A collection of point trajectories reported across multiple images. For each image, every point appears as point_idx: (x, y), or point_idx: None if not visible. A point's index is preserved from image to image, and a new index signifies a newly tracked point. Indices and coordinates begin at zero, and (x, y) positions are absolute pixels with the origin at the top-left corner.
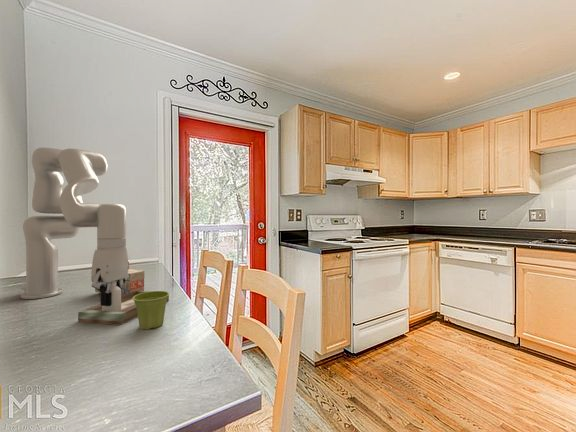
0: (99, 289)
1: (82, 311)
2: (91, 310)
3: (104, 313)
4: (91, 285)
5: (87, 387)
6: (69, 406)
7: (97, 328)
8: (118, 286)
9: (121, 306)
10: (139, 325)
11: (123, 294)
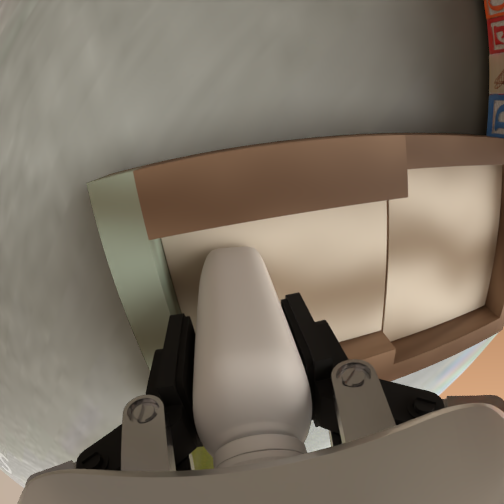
0: (111, 448)
1: (103, 202)
2: (142, 241)
3: (147, 363)
4: (26, 483)
5: (28, 471)
6: (12, 470)
7: (110, 344)
8: (327, 427)
9: (366, 227)
10: (191, 453)
11: (499, 88)
